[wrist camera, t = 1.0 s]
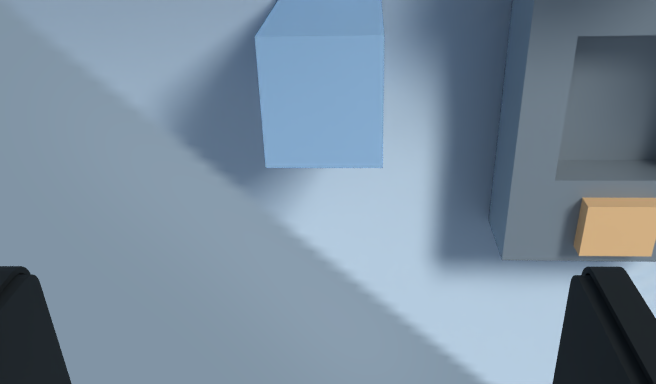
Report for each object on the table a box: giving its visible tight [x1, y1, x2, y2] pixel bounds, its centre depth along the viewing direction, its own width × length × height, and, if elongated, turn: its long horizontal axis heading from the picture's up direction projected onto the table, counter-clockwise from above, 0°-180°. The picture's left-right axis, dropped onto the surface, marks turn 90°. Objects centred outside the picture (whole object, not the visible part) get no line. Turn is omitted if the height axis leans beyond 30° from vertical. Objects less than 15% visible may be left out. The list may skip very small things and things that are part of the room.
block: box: [255, 0, 384, 168], centre depth 24 cm, size 4×4×8 cm
